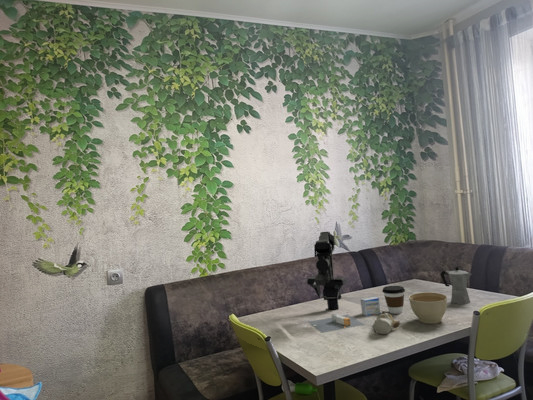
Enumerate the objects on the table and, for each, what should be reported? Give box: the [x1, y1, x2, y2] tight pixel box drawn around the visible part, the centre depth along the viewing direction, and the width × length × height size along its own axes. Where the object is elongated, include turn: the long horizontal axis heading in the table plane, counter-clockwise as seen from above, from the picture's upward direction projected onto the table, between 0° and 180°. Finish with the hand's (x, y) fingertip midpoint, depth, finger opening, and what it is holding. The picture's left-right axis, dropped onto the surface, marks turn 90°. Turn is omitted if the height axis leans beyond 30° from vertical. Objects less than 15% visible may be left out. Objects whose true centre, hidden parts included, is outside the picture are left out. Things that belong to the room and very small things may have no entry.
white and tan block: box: [331, 313, 351, 326], centre depth 184 cm, size 11×4×3 cm, turn 30°
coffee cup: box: [381, 285, 406, 315], centre depth 197 cm, size 11×11×12 cm
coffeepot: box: [439, 266, 472, 305], centre depth 203 cm, size 15×9×18 cm, turn 44°
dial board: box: [308, 314, 365, 334], centre depth 186 cm, size 18×21×2 cm
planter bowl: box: [408, 291, 448, 325], centre depth 179 cm, size 16×16×11 cm
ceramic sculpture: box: [372, 311, 400, 335], centre depth 173 cm, size 11×9×15 cm
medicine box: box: [360, 296, 381, 317], centre depth 195 cm, size 8×4×9 cm, turn 105°
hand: (328, 298), depth 193 cm, fingers open, 9 cm apart
